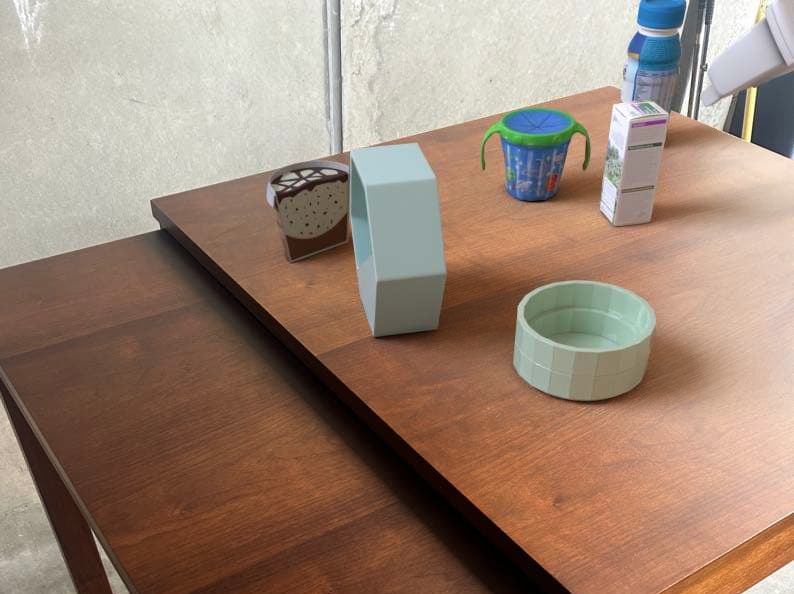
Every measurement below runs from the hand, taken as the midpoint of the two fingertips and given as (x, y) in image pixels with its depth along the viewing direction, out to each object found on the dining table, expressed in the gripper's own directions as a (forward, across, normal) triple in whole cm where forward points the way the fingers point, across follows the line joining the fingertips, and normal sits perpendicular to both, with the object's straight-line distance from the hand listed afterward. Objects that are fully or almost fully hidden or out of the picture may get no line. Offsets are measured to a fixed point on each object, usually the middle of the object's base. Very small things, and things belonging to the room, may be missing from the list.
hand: (730, 90), depth 102 cm
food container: (+38, +39, -11) cm, 55 cm away
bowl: (+7, +33, +20) cm, 39 cm away
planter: (+23, +41, +4) cm, 47 cm away
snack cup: (+32, +4, -4) cm, 32 cm away
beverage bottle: (+33, -22, -6) cm, 40 cm away
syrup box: (+22, +1, +6) cm, 22 cm away
